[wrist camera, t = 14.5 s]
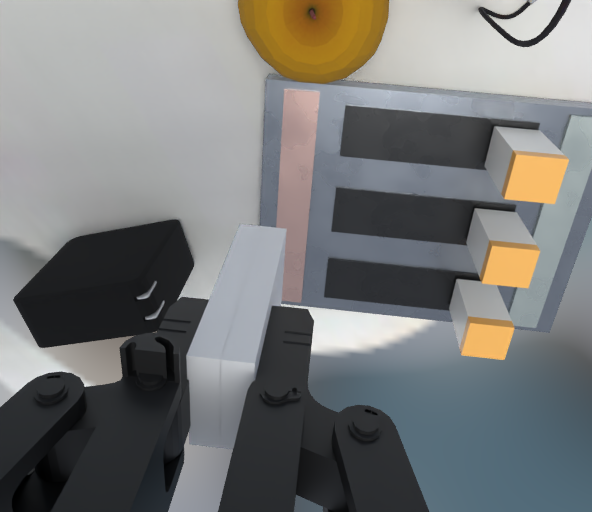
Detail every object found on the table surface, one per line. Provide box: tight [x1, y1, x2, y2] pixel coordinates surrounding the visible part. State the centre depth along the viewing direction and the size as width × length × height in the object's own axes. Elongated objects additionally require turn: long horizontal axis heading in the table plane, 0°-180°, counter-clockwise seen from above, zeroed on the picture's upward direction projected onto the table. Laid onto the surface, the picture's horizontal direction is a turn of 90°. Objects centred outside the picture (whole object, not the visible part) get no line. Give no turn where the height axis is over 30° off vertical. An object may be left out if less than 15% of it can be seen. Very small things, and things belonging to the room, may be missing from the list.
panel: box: [260, 74, 592, 333], centre depth 42 cm, size 24×18×2 cm
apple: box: [238, 0, 389, 84], centre depth 33 cm, size 9×8×9 cm
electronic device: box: [13, 220, 194, 348], centre depth 43 cm, size 4×10×10 cm, turn 103°
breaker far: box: [449, 279, 514, 360], centre depth 41 cm, size 3×3×6 cm
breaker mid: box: [466, 208, 540, 288], centre depth 38 cm, size 3×3×6 cm
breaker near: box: [485, 126, 569, 204], centre depth 35 cm, size 3×3×6 cm
